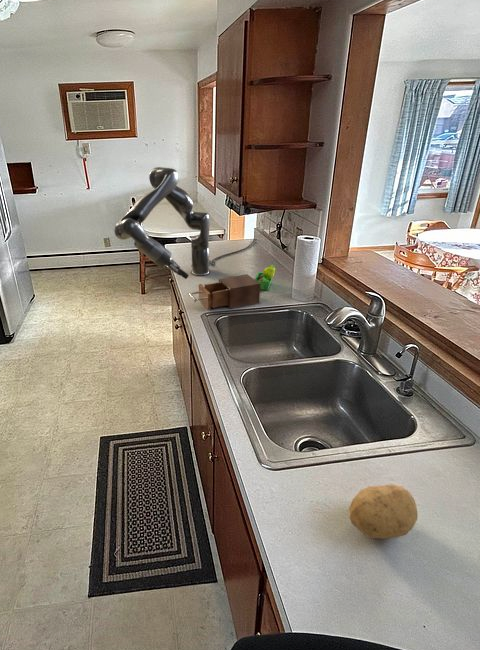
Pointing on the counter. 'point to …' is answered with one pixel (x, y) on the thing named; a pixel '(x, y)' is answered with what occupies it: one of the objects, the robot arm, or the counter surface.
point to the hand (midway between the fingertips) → (186, 276)
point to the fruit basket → (265, 277)
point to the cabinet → (242, 290)
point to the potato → (383, 511)
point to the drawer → (212, 295)
